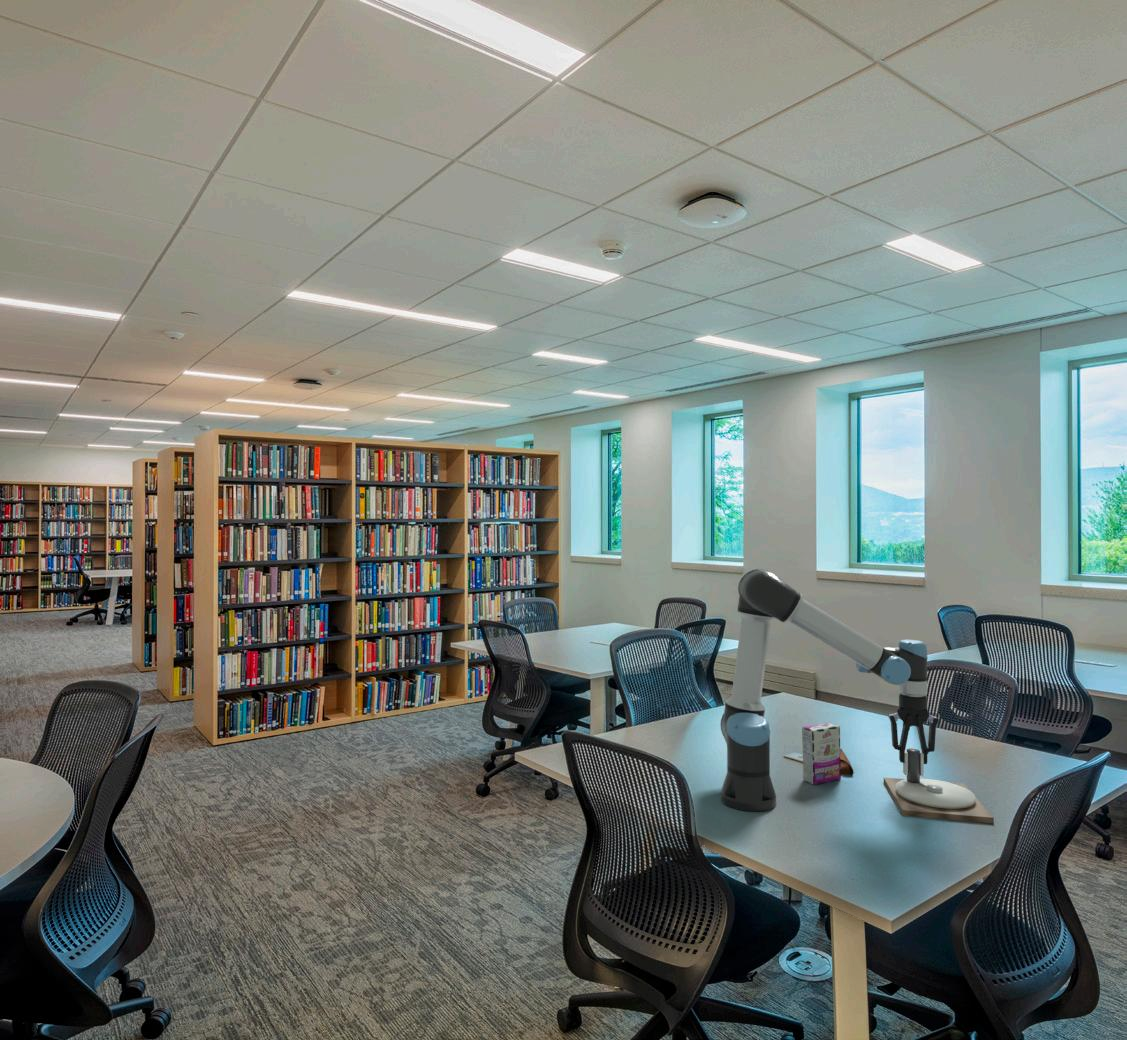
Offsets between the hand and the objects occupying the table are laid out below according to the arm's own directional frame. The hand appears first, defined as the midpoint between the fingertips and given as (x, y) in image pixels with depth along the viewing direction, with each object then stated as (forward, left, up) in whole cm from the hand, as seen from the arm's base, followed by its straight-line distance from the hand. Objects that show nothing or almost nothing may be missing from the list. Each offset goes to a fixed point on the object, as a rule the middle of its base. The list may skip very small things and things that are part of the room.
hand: (913, 774), depth 214 cm
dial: (+4, -7, -3) cm, 9 cm away
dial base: (+4, -7, -5) cm, 9 cm away
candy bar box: (-25, +4, -5) cm, 26 cm away
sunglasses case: (-19, +19, -6) cm, 28 cm away
